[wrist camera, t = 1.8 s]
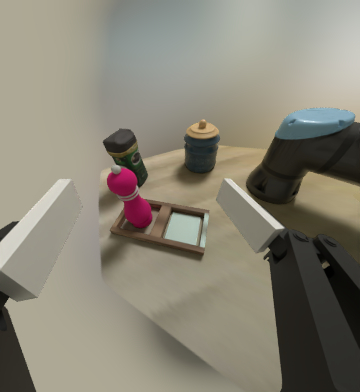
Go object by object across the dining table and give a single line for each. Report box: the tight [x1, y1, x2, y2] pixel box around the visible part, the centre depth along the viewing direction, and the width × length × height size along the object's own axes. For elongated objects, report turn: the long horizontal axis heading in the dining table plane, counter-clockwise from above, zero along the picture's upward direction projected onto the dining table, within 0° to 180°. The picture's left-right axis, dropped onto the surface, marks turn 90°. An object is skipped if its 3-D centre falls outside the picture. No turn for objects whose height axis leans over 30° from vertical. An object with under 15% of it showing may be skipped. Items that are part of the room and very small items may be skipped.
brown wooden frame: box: [110, 199, 209, 255], centre depth 38 cm, size 12×26×2 cm, turn 76°
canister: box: [184, 120, 220, 173], centre depth 50 cm, size 13×13×18 cm
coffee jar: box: [103, 129, 148, 187], centre depth 45 cm, size 10×8×19 cm
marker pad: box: [165, 212, 201, 246], centre depth 38 cm, size 9×9×1 cm
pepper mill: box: [107, 165, 152, 228], centre depth 33 cm, size 7×7×20 cm
